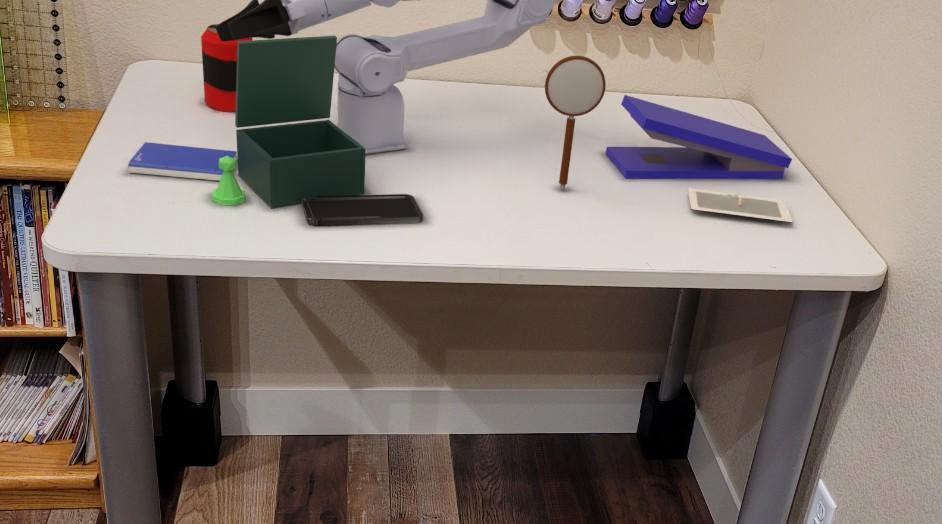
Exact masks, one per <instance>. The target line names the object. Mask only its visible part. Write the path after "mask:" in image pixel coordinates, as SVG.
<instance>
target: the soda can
mask: <svg viewBox="0 0 942 524" xmlns="http://www.w3.org/2000/svg"><path fill="white" fill-rule="evenodd" d="M218 24H219V23H215V24H210V25H208V26H207V27H206V29H205V30H204V32H203V33H202V34H201V36H200V43H201V56H202V57H201V59H202V61H201V63H202V76H203V94H204V103H205V104H206V105H207V106H208V107H209V108H211V109H213V110H215V111H220V112H226V113H227V112H228V113H236V78H237V42H238V41H251V40H254V39H253V38H244V39H238V40H233V41H221V40H220V38H219V35H218V33H217V31H216V28H215V27H216V26H217V25H218Z"/></svg>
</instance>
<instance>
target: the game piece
mask: <svg viewBox="0 0 942 524" xmlns="http://www.w3.org/2000/svg"><path fill="white" fill-rule="evenodd" d="M219 168H220V169H222V170H224V171H223V174H222V177H221V179H220V181H219V182H218V186H217V188H216V189H213V190H212V194H211V199H212V202H214V203H216V204H218V205H220V206H236V205H239V204H242V203H244V202H245V199H246V190H243V189H241V187H240V185H239V183H238V181H237V178H236V177H235V174H234V172H233V171H234V170H236V169H237V160H236V159H234V158H231V157H229V156H225V157H222V158H220V159H219Z"/></svg>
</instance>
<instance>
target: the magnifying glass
mask: <svg viewBox="0 0 942 524" xmlns="http://www.w3.org/2000/svg"><path fill="white" fill-rule="evenodd" d="M606 82H607V81H606V77H605V74H604V71H603V70H602V68H601V66H600V65H599V64H598V63H597V62H595V60H593V59H592V58H590V57H587V56H583V55H569V56H566V57H564V58H561V59H559V60H558V61H557V62H556V63H555V64H554V65H552V67H551V68H550V69H549V71H548V73H547V75H546V78H545V81H544V93H545V97H546V100H547V101H548V103H549V105H550V106H551V107H552V108H553V109H554V110H555V111H556V112H557V113H558V114H559V113H560V114H561V115H564V116H566V117H567V118H566V122H565V123H566V124H565V132H564V139H563V149H562V156H561V162H560V163H561V164H560V172H559V180H558V184H560V185H559V189H560V190H562V191H563V190H565V189H566V185H568V181H569V173H570V164H571V157H572V156H571V155H572V150H573V149H572V148H573V141H574V133H575V125H576V118H575V117H580V116H584V115H587V114H589V113H590V112H592V111H593V110H594V109H596V108H597V107H598V105H600V103H601V101H602V100H603V98H604V97H605V96H604V95H605V92H606V86H607V83H606Z"/></svg>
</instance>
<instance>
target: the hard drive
mask: <svg viewBox="0 0 942 524" xmlns="http://www.w3.org/2000/svg"><path fill="white" fill-rule="evenodd" d="M225 156H229V157H231V158H234V159H236V161H238V159H237V150H226V149H217V148H216V149H215V148H208V147H197V146H187V145H177V144H168V143H157V142H147V141H145V142H144V143H143V144H142V145H141V146H140V148H139V149H138V150H137V151H136V153H135V154H134V155H133V156H132V157H131V159H130V160H129V162H128V163H127V168H128V169H127V170H128V173H130V174H132V173H133V174H141V175H143V174H144V175H154V176H164V177H165V176H166V177H176V178H188V179H198V180H209V181H219V182H220V179H221V177H222V174H223V171H224V170H222V169H220V168H219V159H220V158H222V157H225Z"/></svg>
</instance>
